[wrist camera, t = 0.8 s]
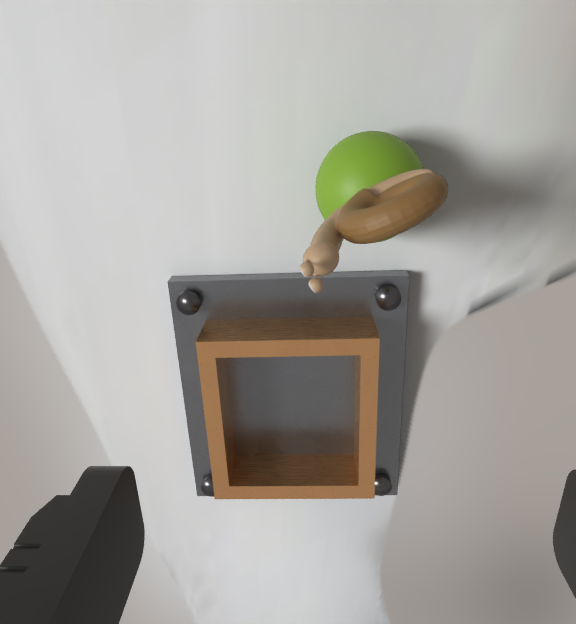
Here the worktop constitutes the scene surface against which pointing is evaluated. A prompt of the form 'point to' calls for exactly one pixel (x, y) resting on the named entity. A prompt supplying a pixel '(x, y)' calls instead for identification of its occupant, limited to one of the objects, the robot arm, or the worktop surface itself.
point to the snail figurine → (368, 197)
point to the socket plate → (292, 382)
